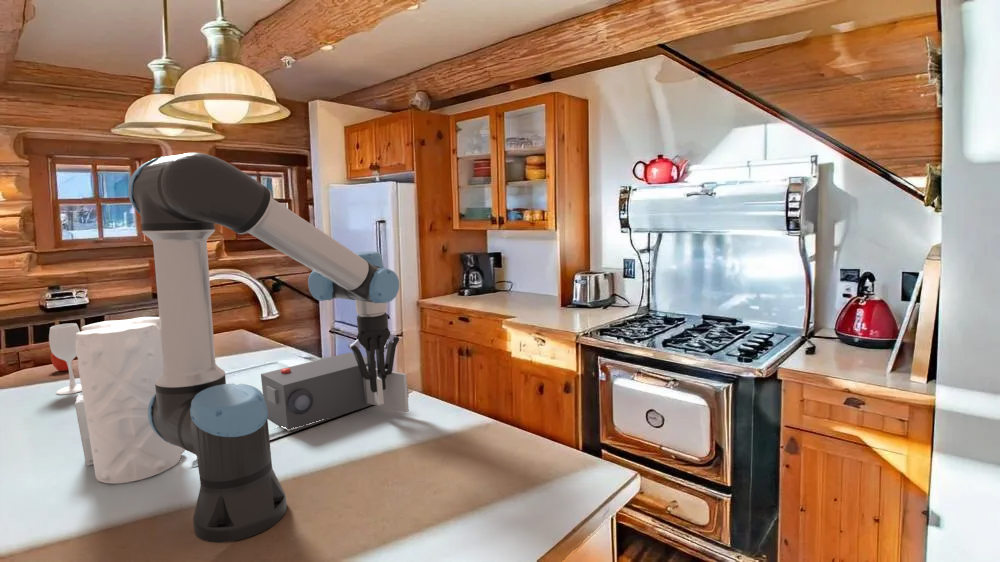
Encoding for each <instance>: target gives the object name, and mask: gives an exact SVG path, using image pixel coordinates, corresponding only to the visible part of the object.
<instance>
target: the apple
mask: <svg viewBox="0 0 1000 562" xmlns="http://www.w3.org/2000/svg"><path fill="white" fill-rule="evenodd" d="M73 360H74V359H73ZM73 360H72V362H73ZM50 361H51V363H52V366H53V367H54V368H55V369H56V371H59V372H65V371H67V372H68V371H69V369H68V365H67V362H66V361H65V360H62V359H59V358H57V357H56V356H54V355H53V353H52V352H51V354H50Z"/></svg>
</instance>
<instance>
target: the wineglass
mask: <svg viewBox="0 0 1000 562" xmlns="http://www.w3.org/2000/svg"><path fill="white" fill-rule="evenodd" d="M80 330H81V329H80V328H79V325H78V324H77V323H76V322H75V323H74V322H73V323H72V322H71V323H62V324H57V325H52V326H51V327H49V334H48V343H49V348H50V349H49V350H50V351H51V354H52V353H53V355H54V356H56V357H57V358H59V359H62V360H65V361H66V362H67V365H68V369H69V370H68V375H69V385H68V386H65V387H62V388H60V389H59V390H57V391H56V394H57V395H60V396H61V395H72V394H76V393H80V392H82V387H81V383H79V384H78V383H76V380H75V377H74V372H73V361H72V360H74V359H75V358H76V357H77V355H76V349H75V348H76V341H77V336H76V333H78V332H81V331H80Z"/></svg>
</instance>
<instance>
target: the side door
mask: <svg viewBox="0 0 1000 562" xmlns="http://www.w3.org/2000/svg"><path fill="white" fill-rule="evenodd" d="M366 368H367V370H368V367H366ZM376 375H377V377H379V376H378V372H377V367H376ZM407 378H408V377H407V373H402V372H400V371H399V372H397V371H393V370H392V373H391V374H390V375H387V378H386V379H385V383H386V389H385V390H383V400H384V404H381V405H379V404H377V403H376V402H375V394H374V393H373V392H372V391H371V388H370V380H366V379H365V378H363V384H364V397H365V403H368V404H372V405H373V406H377V407H381V408H386V409H389V410H395V411H399V412H402V413H408V412H409V411H410V409H409V386H408V379H407ZM372 405H371V406H372Z"/></svg>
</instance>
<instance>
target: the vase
mask: <svg viewBox="0 0 1000 562" xmlns="http://www.w3.org/2000/svg"><path fill="white" fill-rule="evenodd" d="M76 336H77V341H76V348H75V349H76V355H77V356H76V357H77V362H78V363H77V367H78V373H79V379H80V384H81V387H82V391H81V392H82V393H81V394H83V400H84V406H85V412H86V419H87V425H88V431H89V438H90V444H91V450H92V456H93V463H94V464H93V468H94V474H95V479H96V480H97V481H98V482H101V483H106V484H111V485H112V484H115V485H116V484H125V483H131V482H135V481H136V482H137V481H141V480H145V479H147V478H150V477H151V478H152V477H153V476H156V475H159V474H160V473H163V472H165V471H167V470H169V469H170V468H173V467H174V466H175V465H177V464H178V463H179V462H180V461H181V459H182V457H181V456H182V455H183V454H184V453H185V451H186V450H185V449H183V448H181V447H179V446H176V445H173V444H170V443H169V442H166V441H164V440H163V439H162V438H161V437H160V436H159V435H158V434H156V433H155V431H154V430H153V429H152V427H151V425H150V423H149V419H148V407H149V403H150V401H151V399H152V397H154V395H155V394H156V388H155V380H156V379H157V378H158V377H159V376H160V375H161V374H162V373H163V370H164V367H163V355H162V343H161V331H160V319H159V316H141V317H134V318H129V319H128V318H127V319H120V320H118V319H117V320H104V321H100V322H99V321H98V322H94V323H90V324H87V325H83V326H82V327H81V331H80V332H78V333H76ZM180 458H181V459H180ZM179 460H180V461H179Z"/></svg>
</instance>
